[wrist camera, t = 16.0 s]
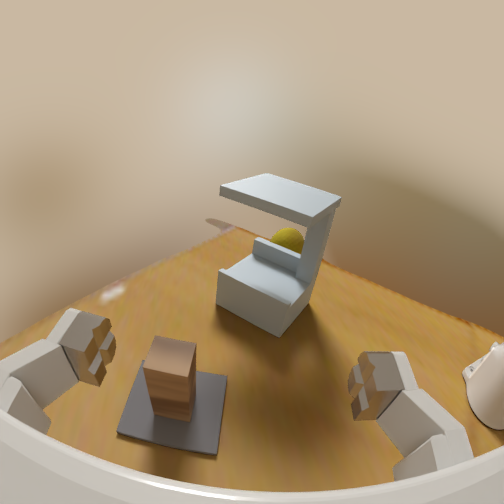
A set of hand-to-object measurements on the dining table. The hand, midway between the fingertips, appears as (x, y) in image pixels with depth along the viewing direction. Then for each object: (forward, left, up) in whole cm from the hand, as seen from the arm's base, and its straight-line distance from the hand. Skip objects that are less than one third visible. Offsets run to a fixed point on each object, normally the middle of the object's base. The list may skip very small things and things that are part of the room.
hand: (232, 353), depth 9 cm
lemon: (-34, -41, -27) cm, 60 cm away
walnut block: (-1, -14, -26) cm, 30 cm away
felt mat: (-1, -14, -27) cm, 30 cm away
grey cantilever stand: (-21, -28, -27) cm, 44 cm away
